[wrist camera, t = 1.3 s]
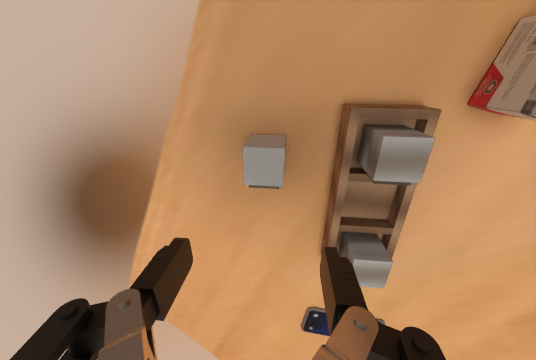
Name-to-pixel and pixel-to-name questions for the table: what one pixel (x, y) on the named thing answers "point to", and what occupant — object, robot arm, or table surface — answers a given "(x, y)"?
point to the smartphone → (318, 321)
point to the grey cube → (264, 161)
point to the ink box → (512, 76)
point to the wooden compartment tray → (376, 183)
